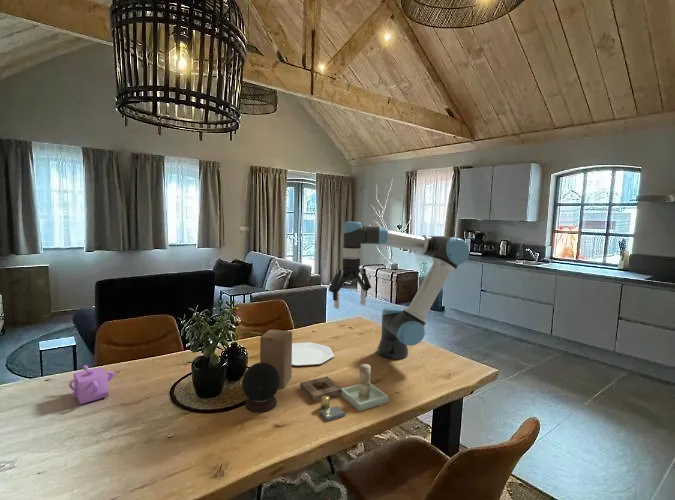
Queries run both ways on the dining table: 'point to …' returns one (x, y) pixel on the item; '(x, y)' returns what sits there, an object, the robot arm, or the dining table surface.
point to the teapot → (90, 384)
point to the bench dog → (325, 402)
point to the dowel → (364, 382)
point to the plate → (310, 354)
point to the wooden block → (278, 353)
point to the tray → (374, 400)
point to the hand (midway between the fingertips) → (350, 306)
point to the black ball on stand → (261, 387)
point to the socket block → (312, 386)
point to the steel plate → (332, 413)
